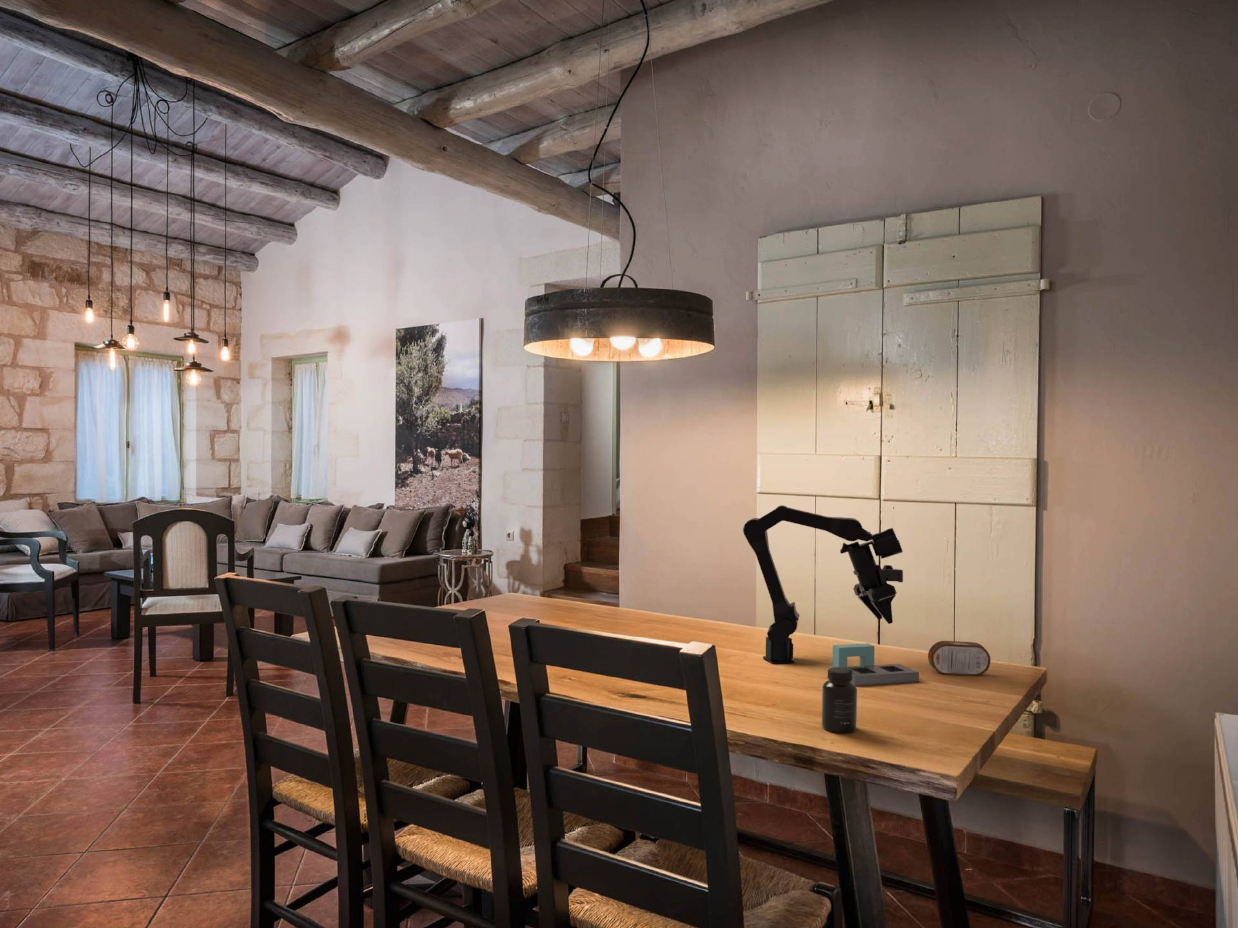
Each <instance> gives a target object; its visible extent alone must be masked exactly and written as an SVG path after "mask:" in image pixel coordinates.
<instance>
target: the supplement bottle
mask: <svg viewBox="0 0 1238 928" xmlns="http://www.w3.org/2000/svg"><path fill="white" fill-rule="evenodd" d="M826 677H827V679H828V680H826V681H824V683H823V685H822V690H821V726H822V728H823V729H824V730H826V731H828V732H830V733H833V734H841V735H845V734H851V733H854V732H855V731H856V730H857V720H858V719H857V716H858V715H857V714H858V711H857V710H858V688H857V686H855V685H854V684H853V683H851V681H852V680H853V677H852V671H851V670H850V669H847V668H842V667H829V668H828V669H827V676H826Z"/></svg>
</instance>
